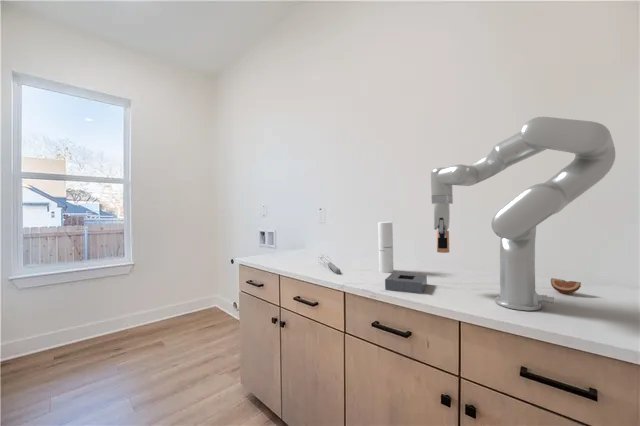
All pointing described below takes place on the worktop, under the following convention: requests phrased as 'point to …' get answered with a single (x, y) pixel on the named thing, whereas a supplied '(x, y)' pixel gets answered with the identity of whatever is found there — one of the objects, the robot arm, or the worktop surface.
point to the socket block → (406, 282)
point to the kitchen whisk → (331, 266)
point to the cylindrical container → (385, 246)
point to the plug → (447, 244)
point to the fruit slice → (565, 285)
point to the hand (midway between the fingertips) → (443, 246)
